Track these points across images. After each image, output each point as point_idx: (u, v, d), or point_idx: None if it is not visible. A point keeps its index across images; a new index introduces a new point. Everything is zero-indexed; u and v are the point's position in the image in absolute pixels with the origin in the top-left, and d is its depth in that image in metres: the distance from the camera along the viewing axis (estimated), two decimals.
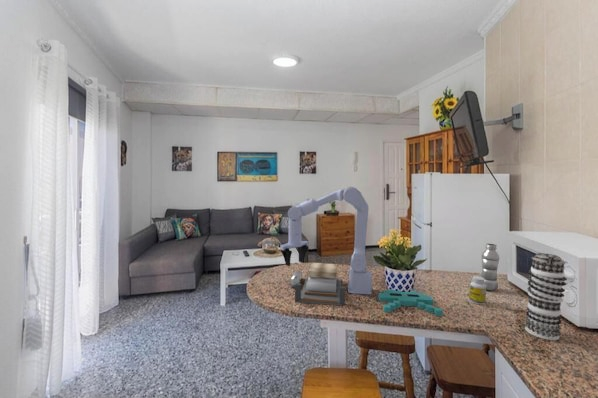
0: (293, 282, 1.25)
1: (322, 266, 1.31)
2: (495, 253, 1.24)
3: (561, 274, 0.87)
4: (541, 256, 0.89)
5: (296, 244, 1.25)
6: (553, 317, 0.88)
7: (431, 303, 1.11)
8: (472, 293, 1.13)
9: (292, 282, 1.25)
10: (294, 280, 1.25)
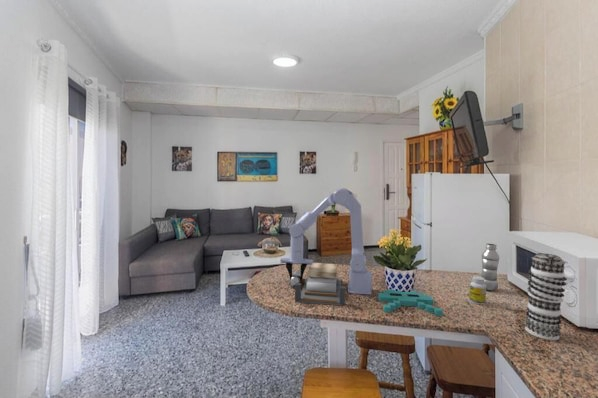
0: (293, 282, 1.25)
1: (322, 266, 1.31)
2: (495, 253, 1.24)
3: (561, 274, 0.87)
4: (541, 256, 0.89)
5: (292, 260, 1.28)
6: (553, 317, 0.88)
7: (431, 303, 1.11)
8: (472, 293, 1.13)
9: (292, 282, 1.25)
10: (294, 280, 1.25)
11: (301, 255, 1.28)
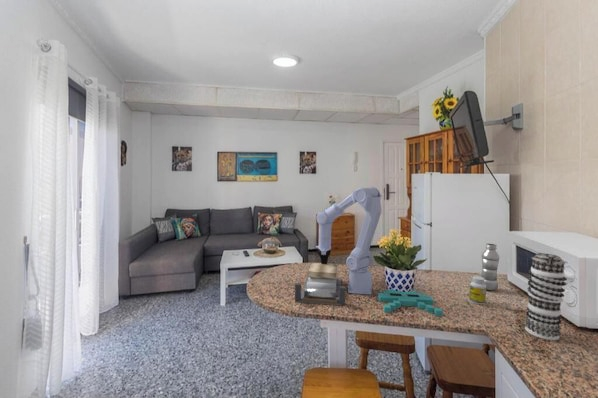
0: (335, 294, 1.12)
1: (322, 267, 1.30)
2: (495, 253, 1.24)
3: (561, 274, 0.87)
4: (541, 256, 0.89)
5: (330, 247, 1.34)
6: (553, 317, 0.88)
7: (431, 303, 1.11)
8: (472, 293, 1.13)
9: (335, 295, 1.11)
10: (335, 292, 1.12)
11: None
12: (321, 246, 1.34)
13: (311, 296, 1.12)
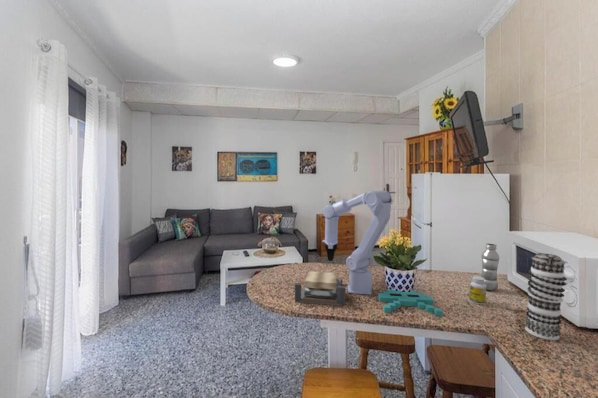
0: (335, 293, 1.13)
1: (321, 276, 1.19)
2: (495, 253, 1.24)
3: (561, 274, 0.87)
4: (541, 256, 0.89)
5: (336, 241, 1.32)
6: (553, 317, 0.88)
7: (431, 303, 1.11)
8: (472, 293, 1.13)
9: (335, 293, 1.12)
10: (335, 290, 1.13)
11: None
12: (328, 240, 1.31)
13: (311, 293, 1.12)
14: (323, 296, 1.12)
